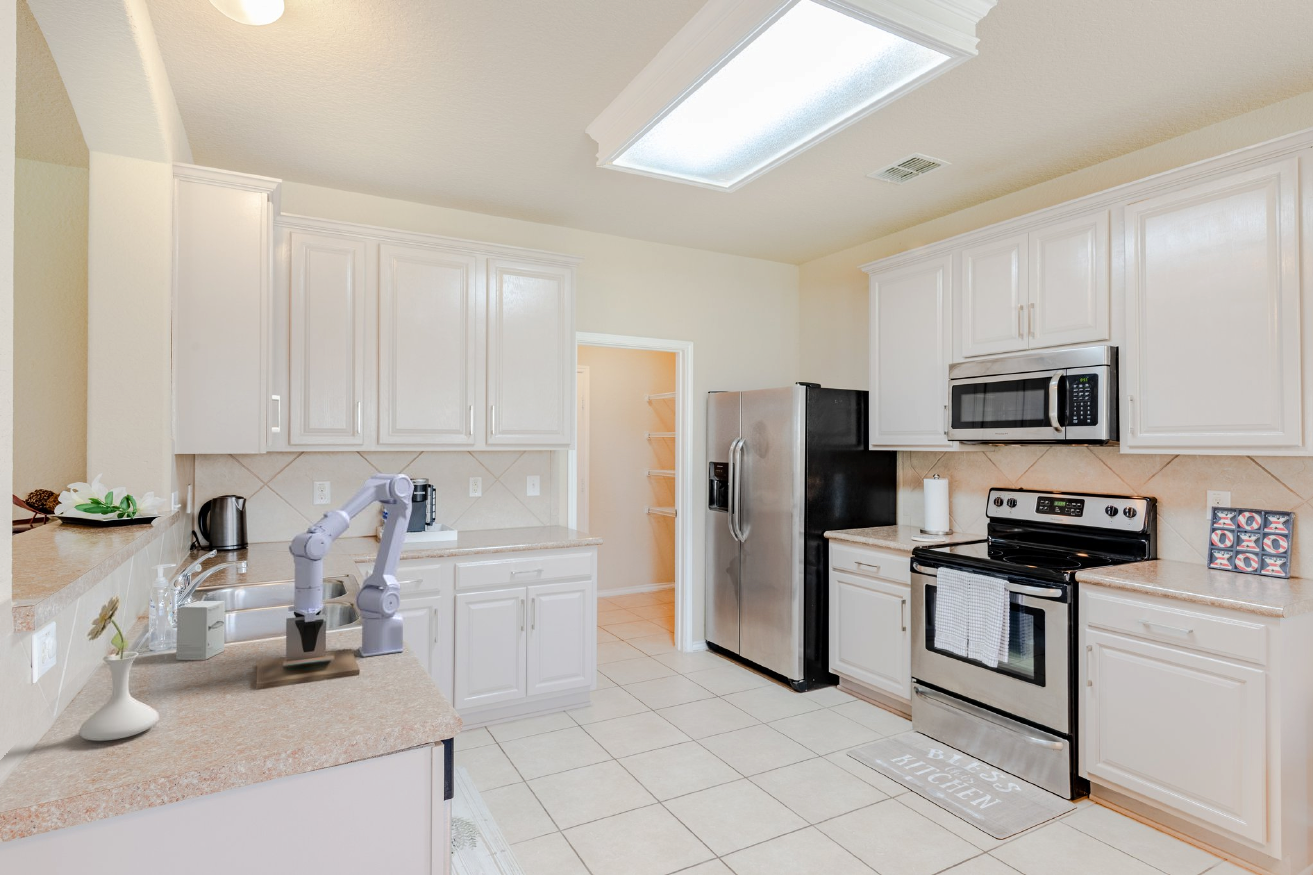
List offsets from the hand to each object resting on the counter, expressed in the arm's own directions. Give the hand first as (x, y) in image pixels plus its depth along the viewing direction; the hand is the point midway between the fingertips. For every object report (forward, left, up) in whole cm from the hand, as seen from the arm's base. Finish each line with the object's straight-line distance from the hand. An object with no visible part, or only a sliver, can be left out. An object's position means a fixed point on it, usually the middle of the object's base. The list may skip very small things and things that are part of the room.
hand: (307, 646), depth 159 cm
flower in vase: (+31, +22, -6) cm, 39 cm away
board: (0, -2, -6) cm, 6 cm away
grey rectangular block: (0, -3, -3) cm, 4 cm away
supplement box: (+22, -26, -6) cm, 34 cm away
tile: (0, +1, -3) cm, 3 cm away
